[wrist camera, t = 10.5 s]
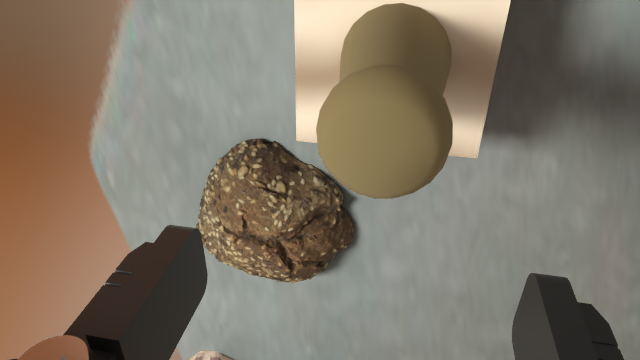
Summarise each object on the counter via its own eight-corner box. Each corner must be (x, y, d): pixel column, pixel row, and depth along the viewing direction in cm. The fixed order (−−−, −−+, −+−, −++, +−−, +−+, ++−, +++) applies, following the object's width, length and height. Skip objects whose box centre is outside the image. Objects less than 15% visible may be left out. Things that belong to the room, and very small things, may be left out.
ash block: (312, -62, 28) (293, -54, 24) (505, -56, 27) (520, -46, 22) (312, 109, 34) (296, 140, 30) (470, 123, 32) (477, 158, 28)
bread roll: (187, 225, 43) (162, 262, 38) (236, 117, 36) (212, 147, 32) (312, 289, 44) (301, 332, 40) (382, 196, 37) (377, 235, 33)
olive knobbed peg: (391, -23, 24) (372, 33, 15) (476, 55, 25) (507, 152, 16) (319, 65, 27) (265, 157, 18) (397, 130, 28) (385, 248, 19)
